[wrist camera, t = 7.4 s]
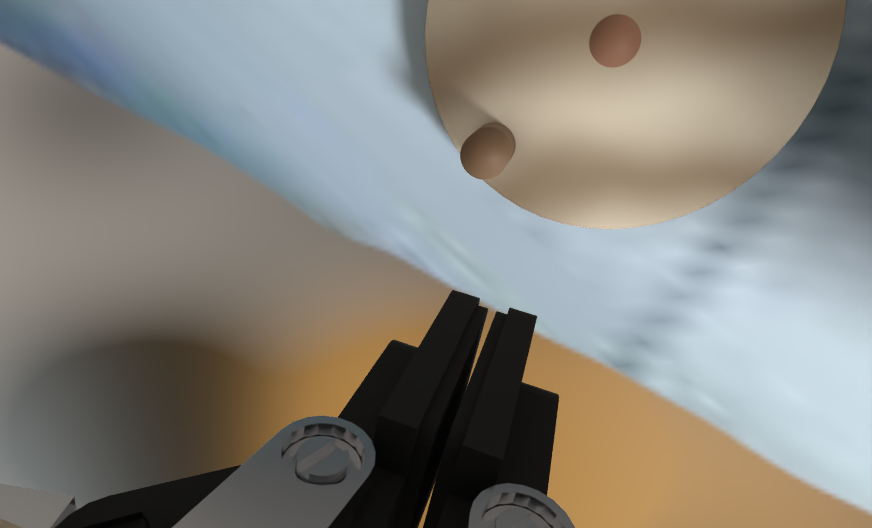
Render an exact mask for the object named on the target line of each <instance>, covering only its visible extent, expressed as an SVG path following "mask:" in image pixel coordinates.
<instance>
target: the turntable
mask: <svg viewBox="0 0 872 528" xmlns="http://www.w3.org/2000/svg"><path fill="white" fill-rule="evenodd" d="M845 10H846V0H429V1H428V6H427V17H426V28H425V47H426V63H427V69H428V76H429V83H430V86H431V90H432V94H433V97H434V101H435V105H436V108H437V110H438V112H439V115H440V117H441V120H442V122H443V125H444V127H445V129H446V131H447V133H448V134H449V136H450V138H451V140H452V141H453V143H454V145H455V147H456V148H457V150H458V151H459V152H460V158H461V163H462V165H463V167H464V169H465V170H466V171H467V172H468V173H469V174H470V175H471V176H473V177H475V178H478V179H483V180H484V181H485V182H486V183H487V184H488V185H489V186H491V187H492V188H493V189H494V190H496V191H497V192H498V193H499V194H501V195H502V196H503V197H505V198H506V199H508V200H510V201H511V202H513V203H515V204H516V205H518V206H519V207H521V208H523V209H525V210H528V211H530V212H532V213H534V214H536V215H539V216H541V217H544V218H547V219H550V220H553V221H556V222H560V223H563V224H568V225H574V226H579V227H585V228H598V229H621V228H635V227H641V226H646V225H652V224H657V223H661V222H665V221H668V220H671V219H675V218H678V217H681V216H684V215H686V214H689V213H691V212H693V211H696V210H698V209H700V208H703V207H705V206H707V205H709V204H711V203H713V202H714V201H716V200H718V199H720V198H722V197H723V196H725V195H727V194H729V193H730V192H732V191H733V190H735V189H736V188H737V187H739V186H740V185H742V184H743V183H744V182H746V181H747V180H748V179H750V178H751V177H752V176H754V175H755V174H756V173H757V172H758V171H759V170H760V169H762V168H763V167H764V166H765V165H766V164H767V163H768V162H769V161H770V160H771V159H772V158H774V157H775V156H776V155H777V153H778V152H779V151H780V150H781V149H782V148H783V147H784V145H785V144H786V143H787V142H788V141H789V140H790V138H791V137H792V136H793V135H794V134H795V133H796V131H797V130H798V128H799V127H800V125H801V124H802V122H803V121H804V119H805V118H806V116H807V115H808V114H809V112H810V111H811V109H812V107H813V106H814V104H815V102H816V100H817V98H818V96H819V94H820V92H821V90H822V88H823V86H824V84H825V83H826V80H827V78H828V75H829V72H830V70H831V67H832V64H833V62H834V59H835V56H836V54H837V51H838V46H839V42H840V38H841V34H842V29H843V25H844V20H845Z"/></svg>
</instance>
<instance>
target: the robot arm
mask: <svg viewBox="0 0 872 528" xmlns="http://www.w3.org/2000/svg"><path fill="white" fill-rule="evenodd" d="M479 301H480V298H477V297H474V296H471V295H468V294H464V293H461V292H458V291H455V290H452V292H451V293H450V295H449V297H448V299H447V300H446V302H445V303H444V305H443V307H442V308H441V310H440V312H439V314H438V315H437V317H436V319H435V320H434V322H433V324H432V325H431V327H430V329H429V331H428V332H427V334H426V336H425V337H424V339H423V341H422V342H421V344H420V346H419V347H418V348H417V347H414V346H411V345H408V344H405V343H402V342H399V341H396V340H392V341H391V342H390V343H389V344H388V346H387V347H386V349H385V350H384V352H383V353H382V354H381V356H380V357H379V359H378V360H377V362H376V363H375V365H374V366H373V367H372V369H371V370H370V372H369V373H368V375H367V376H366V377H365V379H364V381H363V382H362V383H361V385H360V386H359V388H358V389H357V390H356V392H355V393H354V395H353V396H352V398H351V399H350V401H349V402H348V404H347V405H346V406H345V408H344V409H343V411H342V412H341V414H340V415H339V416H338V417H329V416H314V417H307V418H303V419H300V420H297V421H295V422H292V423H291V424H289V425H288V426H286V427H285V428H283V429H282V430H280V431H279V432H278V433H277V434H276V435H275V436H274V437H273V438H272V439H270V440H269V441H268V442H267V443H266V444H265V445H264V446H263V447H262V448H260V449H259V450H258V451H257V452H256V453H255V454H254V455H252V456H251V457H250V458H249V459H248V460H247V461H246V462H245V463H244V464H243V465H239V466H235V467H230V468H226V469H222V470H218V471H213V472H209V473H205V474H200V475H196V476H192V477H188V478H183V479H179V480H175V481H171V482H166V483H162V484H158V485H154V486H150V487H145V488H141V489H137V490H132V491H128V492H124V493H119V494H115V495H111V496H108V497H105V498H102V499H99V500H96V501H93V502H90V503H88V504H86V505H85V506H78V505H75V496H70V495H64V494H58V493H52V492H46V491H39V490H34V489H28V488H21V487H16V486H10V485H4V484H0V528H418V526H419V523H420V521H421V518H422V515H423V513H424V510H425V507H426V505H427V502H428V499H429V497H430V494H431V491H432V489H433V486H434V489H433V493H432V496H431V500H430V504H429V507H428V511H427V515H426V518H425V522H424V526H423V528H575V527H574V525H573V523H572V522H571V520H570V518H569V517H568V515H567V514H566V512H565V511H564V510H563V509H562V508H561V507H560V506H559V505H558V504H557V503H556V502H555V501H554V500H552V499H551V498H549V497H548V496H547V490H548V483H549V474H550V467H551V458H552V451H553V442H554V434H555V426H556V418H557V410H558V402H559V395H558V394H556V393H552V392H550V391H546V390H543V389H541V388H538V387H535V386H531V385H529V384H525V383H523V382H522V378H523V374H524V369H525V365H526V361H527V357H528V353H529V348H530V344H531V340H532V336H533V332H534V327H535V323H536V319H537V316H535V315H532V314H529V313H525V312H522V311H519V310H516V309H513V308H509V311H508V314H504V313H501V312H496V314H495V317H494V319H493V322H492V324H491V327H490V330H489V332H488V335H487V337H486V340H485V343H484V345H483V348H482V350H481V353H480V356H479V358H478V361H477V363H476V366H475V368H474V371H473V373H472V376H471V379H470V381H469V378H470V374H471V370H472V367H473V363H474V359H475V356H476V352H477V348H478V345H479V341H480V338H481V334H482V330H483V327H484V323H485V320H486V316H487V312H488V308H485V307H481V306H479ZM468 381H469V384H468ZM467 385H468V386H467ZM434 483H435V485H434Z"/></svg>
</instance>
